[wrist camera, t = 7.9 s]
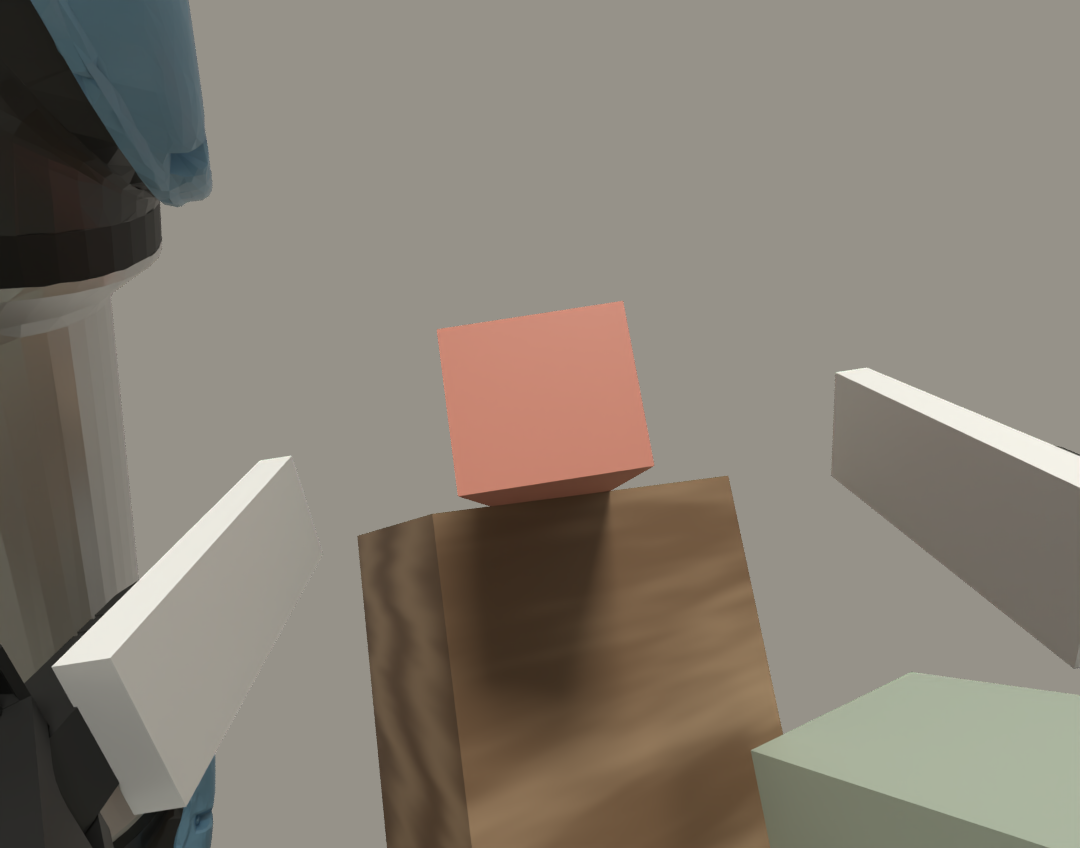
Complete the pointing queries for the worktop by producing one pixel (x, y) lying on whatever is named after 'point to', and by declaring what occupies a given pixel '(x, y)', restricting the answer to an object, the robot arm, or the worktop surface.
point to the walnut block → (569, 673)
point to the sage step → (928, 770)
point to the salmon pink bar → (544, 405)
